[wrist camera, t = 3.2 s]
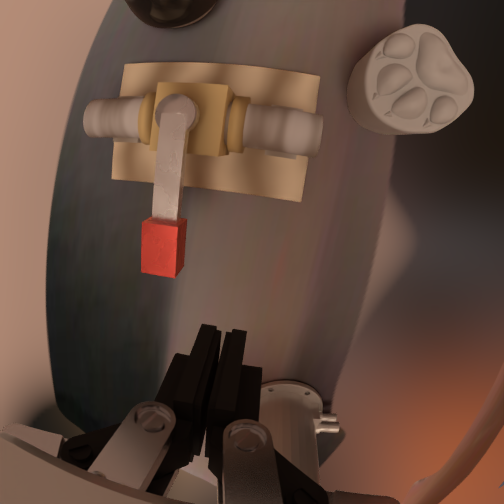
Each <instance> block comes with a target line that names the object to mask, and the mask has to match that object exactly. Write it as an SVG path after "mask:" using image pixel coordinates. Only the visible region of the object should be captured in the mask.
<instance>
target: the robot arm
mask: <svg viewBox="0 0 504 504" xmlns="http://www.w3.org/2000/svg"><path fill="white" fill-rule="evenodd" d="M246 334H247V331H243V330H237V329H233V330H232V333H231V332H226V335H225V339H224V343H223V347H222V351H221V355H220V359H219V352H220V342H221V331H219V330H217V327H216V326H213V325H207V324H202V325H201V327H200V330H199V333H198V335H197V338H196V340H195V343H194V346H193V348H192V351H191V353H190V356H189V355H184V354H179V353H176V354H175V356H174V358H173V360H172V362H171V364H170V367H169V369H168V371H167V373H166V376H165V378H164V380H163V383H162V385H161V387H160V389H159V392H158V394H157V396H156V399H155V401H147V402H143V403H140V404H138V405H136V406H135V407H134V408H133V409H132V410H131V411H130V413H129V414H128V415H127V417H126V418H125V419H124V421H123V422H122V423H119V424H116V425H113V426H109V427H106V428H103V429H100V430H96V431H93V432H89V433H86V434H82V435H78V436H75V437H72V438H70V439H65V438H63V436H62V435H58V434H54V433H50V432H46V431H42V430H38V429H35V428H31V427H27V426H24V425H21V424H15V423H13V424H9V425H7V426H5V427H4V428H3V429H2V431H0V504H192V503H188V502H183V501H179V500H174V499H170V498H166V497H167V495H168V493H169V491H170V489H171V487H172V485H173V483H174V481H175V479H176V477H177V475H178V472H179V469H180V468H182V467H184V466H186V465H188V464H189V462H192V461H193V457H194V455H197V456H200V452H201V448H202V444H203V440H204V435H205V431H206V444H205V457H208V458H209V464H208V469H209V470H210V471H211V472H212V473H213V474H214V475H215V476H216V477H217V503H218V504H400V503H399V501H398V500H396V499H394V498H392V497H388V496H379V495H369V494H360V493H352V492H344V491H338V490H335V491H334V492H329V491H325V490H324V489H323V488H322V487H321V485H320V475H319V463H318V452H317V441H316V434H319V432H328V433H337V432H338V431H339V422H335V421H336V419H337V415H336V414H330V413H328V414H323V413H322V410H323V403H322V399H321V396H320V395H319V393H318V392H317V391H316V390H315V389H314V388H312V387H311V386H309V385H306V384H304V383H301V382H296V381H288V380H285V381H274V382H269V383H266V384H263V385H261V382H262V368H261V367H254V366H247V365H242V361H243V354H244V348H245V341H246ZM218 362H219V363H218ZM321 421H327V422H321ZM206 427H207V428H206Z"/></svg>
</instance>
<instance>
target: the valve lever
mask: <svg viewBox="0 0 504 504" xmlns="http://www.w3.org/2000/svg"><path fill="white" fill-rule="evenodd" d="M199 117H200V111H199V108H198V105H197V104H196V103H195V102H194V101H193V100H192V99H190V98H188V97H187V96H185V95H182V94H171V95H168V96H166V97H165V98H163V99H162V100H161V101H160V102H159V104H158V105H157V108H156V111H155V121H156V123H157V125H158V127H159V136H158V146H157V156H156V166H155V178H154V192H153V208H152V216H151V217H150V218H148V219H146V220H145V221H143V222H142V244H141V272H143V273H149V274H154V275H159V276H165V277H171V278H176V276H177V275H178V274H179V272H180V271H181V269H182V268H183V267H184V257H185V241H186V227H187V219H183V218H181V207H182V195H183V184H184V174H185V164H186V155H187V146H188V138H189V132H190V131H191V130H192V129H193V128H194V127H195V126H196V125H197V123H198V121H199Z"/></svg>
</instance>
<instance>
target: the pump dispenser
mask: <svg viewBox="0 0 504 504" xmlns="http://www.w3.org/2000/svg"><path fill="white" fill-rule="evenodd" d="M125 1H126V3H127V5H128V6H129V8H130V9H131V10H132V12H133V13H134V14H135V15H136V16H137V17H138V18H139V19H140V20H141V21H142V22H144V23H145V24H147V25H150V26H153V27H157V28H179V27H184V26H187V25H190V24H192V23H195V22H197V21H198V20H200V19H201V18H203V17H204V16H205V15H206V14H208V13H209V11H210V10H211V9H212V8H213V6H214V5H215V3H216V1H217V0H125Z"/></svg>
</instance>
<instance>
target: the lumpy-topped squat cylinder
mask: <svg viewBox="0 0 504 504" xmlns="http://www.w3.org/2000/svg"><path fill="white" fill-rule="evenodd" d="M473 95H474V85H473V81H472V78H471V76H470V74H469V73H468V71H467V70H466V68H465V67H464V66H463V65H462V63H461V62H460V61H459V60H458V58H457V57H456V55H455V54H454V52H453V50H452V48H451V47H450V45H449V43H448V41H447V40H446V38H445V37H444V36H443V34H442V33H441V32H440V31H438V30H437V29H435V28H433V27H431V26H428V25H424V24H414V25H410V26H408V27H405V28H403V29H400V30H398V31H396V32H394V33H392V34H390V35H389V36H387V37H386V38H384V39H383V40H381V41H380V42H379V43H378V44H376V45H375V46H374V47H373V48H372V49H371V50H370V51H369V52H368V53H367V54H366V55H365V56H364V57H363V58H362V59H360V60H359V61H358V62H357V64H356V65H355V67H354V69H353V71H352V73H351V76H350V79H349V82H348V85H347V104H348V109H349V112H350V114H351V116H352V117H353V119H354V120H355V121H356V122H357V123H358V124H359V125H360V126H362V127H364V128H365V129H367V130H370V131H372V132H375V133H378V134H384V135H399V134H400V135H401V134H423V133H433V132H436V131H438V130H440V129H442V128H443V127H445V126H447V125H448V124H450V123H451V122H453V121H454V120H455V119H456V118H457V117H458V116H460V115H461V113H463V112H464V111H465V110H466V109H467V108H468V106H469V105H470V103H471V102H472V100H473Z"/></svg>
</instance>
